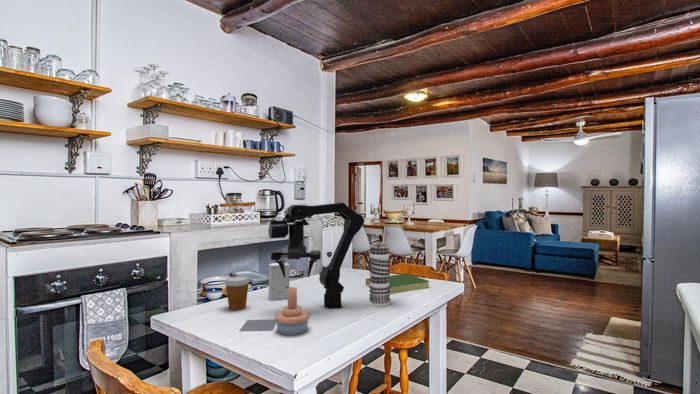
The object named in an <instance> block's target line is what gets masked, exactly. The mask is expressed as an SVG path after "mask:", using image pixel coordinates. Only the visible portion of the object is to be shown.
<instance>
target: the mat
mask: <svg viewBox="0 0 700 394" xmlns="http://www.w3.org/2000/svg"><path fill="white" fill-rule="evenodd" d="M276 326H277V321H276V318H275V319H247V320H246V321H245V322H244V324H242V327H241V328H240V329H239V332H271V331H273V330H274V329H275V327H276Z"/></svg>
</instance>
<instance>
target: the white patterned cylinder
mask: <svg viewBox="0 0 700 394" xmlns="http://www.w3.org/2000/svg"><path fill="white" fill-rule="evenodd" d="M369 247H370V250H369V252H370V253H369V255H368V257H367V259H368V263H369V264H368V271H369V276H370V278H371V281H370V286H368V288H369V296H368V297H369V304H370V305H371V306H376V307H385V306H388V305H390V304H391V302H390V301H391V293H390V294H389V292H390V290H389V289H390V286H389V276H391V273H390V272H391V269H390V267H391V264H390V263H391V262H392V261H390V260H389V259H390V258H391V255H390V253H389V248H390V245H388V243H387V242H385V241H374V242H372V243H371V245H370V246H369Z"/></svg>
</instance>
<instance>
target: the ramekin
mask: <svg viewBox="0 0 700 394" xmlns="http://www.w3.org/2000/svg"><path fill="white" fill-rule="evenodd" d="M308 320H309V319H308ZM308 320H307V321H305V322H302V323H298V324H282V323H278V322H277V323H276V332H277V334H279V335H282V336H289V337H290V336H293V337H294V336H299V335H302V334H305V333H306V332H308V329H309V327H308V324H309V323H308Z"/></svg>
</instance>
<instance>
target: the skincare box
mask: <svg viewBox="0 0 700 394" xmlns="http://www.w3.org/2000/svg"><path fill="white" fill-rule="evenodd" d="M290 267H291V266H290V264H289V263H287V262H285V272H286V275H285V278H284V276H283V273H282V270H281V268H280V266H279V264H278V263H277V262H274V263H273V262H272V263H269V264H268V297H269V299H270V301H275V300H283V299H288V288H290V273H291V272H290V269H291V268H290Z"/></svg>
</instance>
